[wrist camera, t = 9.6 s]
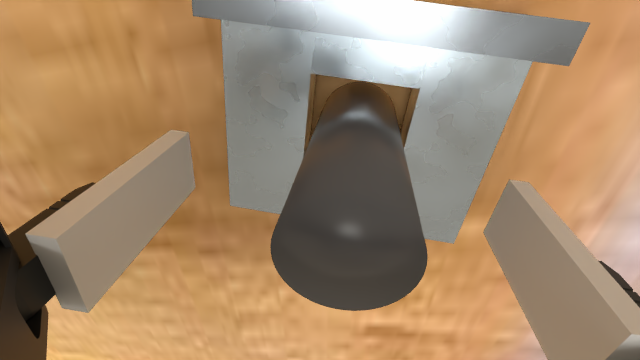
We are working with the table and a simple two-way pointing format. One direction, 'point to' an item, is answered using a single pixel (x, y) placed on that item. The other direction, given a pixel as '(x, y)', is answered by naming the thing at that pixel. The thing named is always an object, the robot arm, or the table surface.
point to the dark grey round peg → (352, 209)
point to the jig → (379, 67)
